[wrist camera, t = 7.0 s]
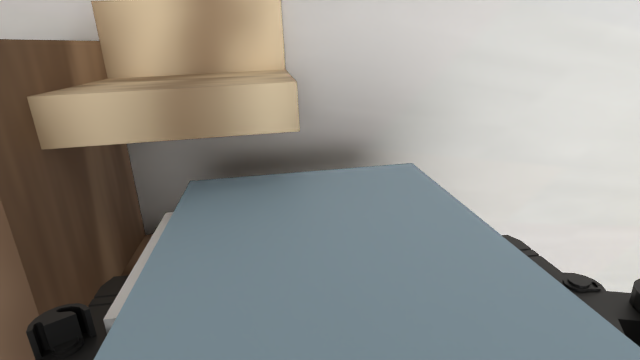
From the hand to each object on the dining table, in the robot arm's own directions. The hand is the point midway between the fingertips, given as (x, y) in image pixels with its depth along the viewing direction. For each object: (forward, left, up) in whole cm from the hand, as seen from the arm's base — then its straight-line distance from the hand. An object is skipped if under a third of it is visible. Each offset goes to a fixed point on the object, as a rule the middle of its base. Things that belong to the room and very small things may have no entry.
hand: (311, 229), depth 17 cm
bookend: (-5, +7, -10) cm, 13 cm away
